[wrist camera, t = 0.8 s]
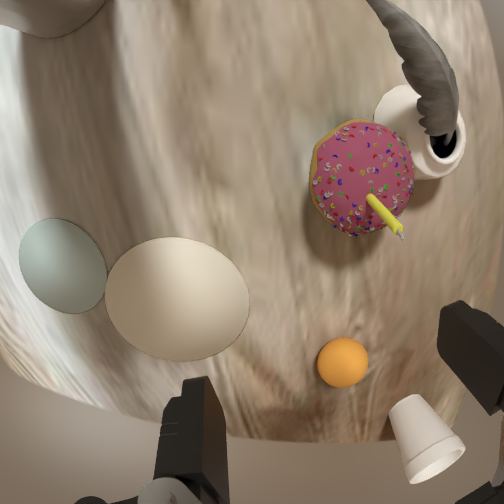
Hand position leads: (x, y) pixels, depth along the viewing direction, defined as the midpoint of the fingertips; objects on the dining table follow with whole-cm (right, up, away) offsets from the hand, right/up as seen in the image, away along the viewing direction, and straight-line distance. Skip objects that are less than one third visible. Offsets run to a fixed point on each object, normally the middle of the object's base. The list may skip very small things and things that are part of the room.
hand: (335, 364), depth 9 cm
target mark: (-10, -2, +20) cm, 22 cm away
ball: (+7, -8, +22) cm, 24 cm away
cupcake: (+5, +11, +16) cm, 20 cm away
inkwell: (+9, +17, +14) cm, 24 cm away
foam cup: (+22, -22, +33) cm, 46 cm away
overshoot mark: (-21, +2, +17) cm, 27 cm away
